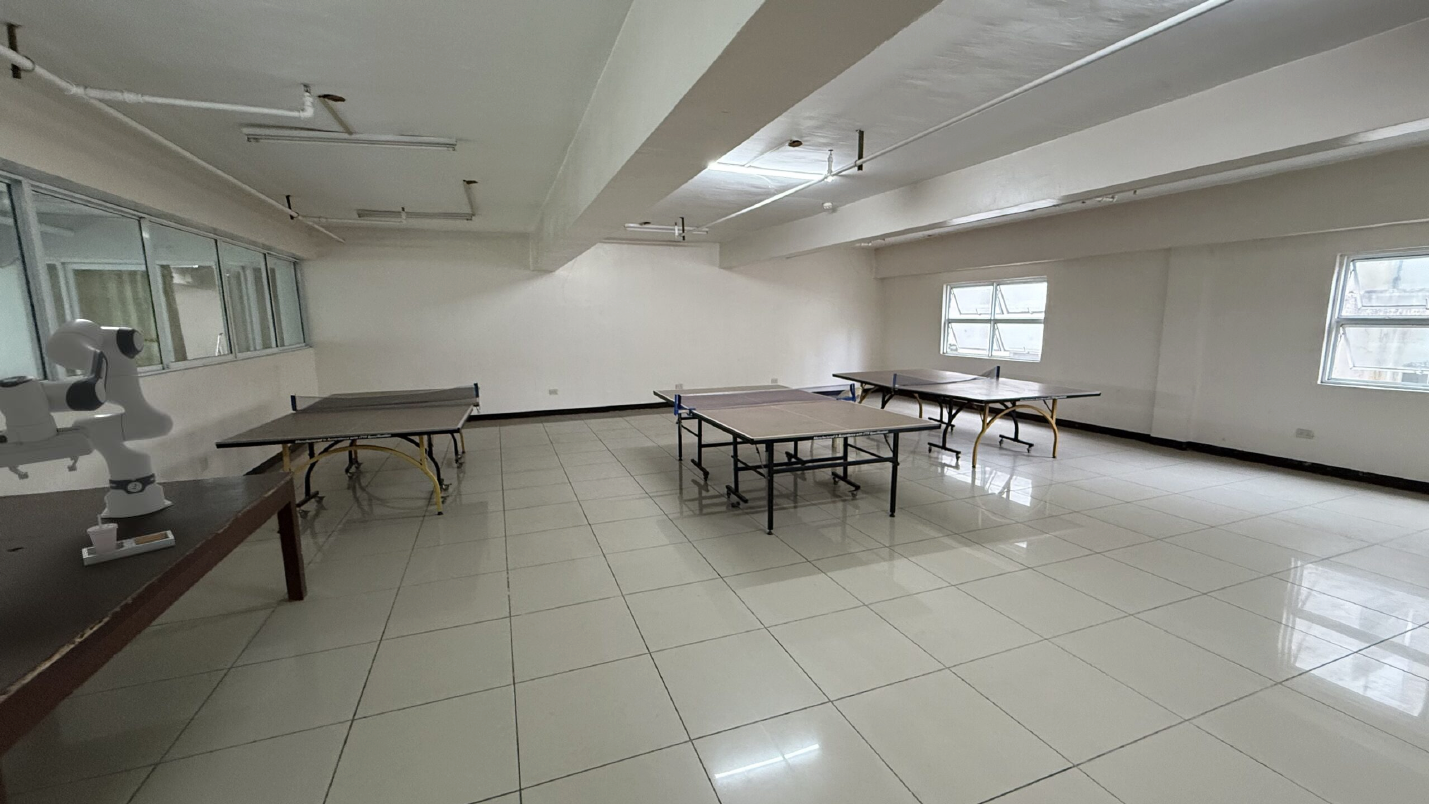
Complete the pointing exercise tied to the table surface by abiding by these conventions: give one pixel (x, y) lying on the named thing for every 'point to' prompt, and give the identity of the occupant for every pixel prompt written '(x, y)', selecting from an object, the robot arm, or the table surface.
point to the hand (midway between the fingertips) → (49, 474)
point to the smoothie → (103, 536)
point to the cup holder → (130, 547)
